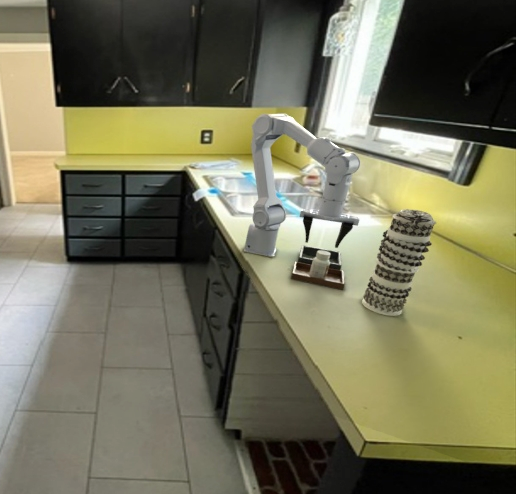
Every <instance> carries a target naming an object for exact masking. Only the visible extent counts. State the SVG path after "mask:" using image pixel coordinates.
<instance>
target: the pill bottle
mask: <svg viewBox="0 0 516 494" xmlns="http://www.w3.org/2000/svg"><path fill="white" fill-rule="evenodd" d="M330 255H331V254H330V253H329V252H327V251H324V250H319V251H317V253H316V257H313V258H312V259H313V261H312V265H311V269H310V273H309V275H310V276H312V277H317V278H322V279H325V278H326V276H327V272H328V269H329V265H330V262H331V260H330V259H329V258H330Z"/></svg>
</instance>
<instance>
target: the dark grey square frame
mask: <svg viewBox="0 0 516 494" xmlns="http://www.w3.org/2000/svg"><path fill="white" fill-rule="evenodd" d="M319 250H324V251H327V252H329V253H330V254H331V255H330V258H329V259H328V260H329V261H330V265H329V268H331V269H336V270H341V269H342V252H341V251H338V250H332V249H327V248H321V247H315V246H309V245H305V244H302V245H301V247H300V251H299V256H298V260H297V262H301V263H306V264H311V265H312V261H313V259H314V258H315V257H316V253H317V251H319ZM303 255H304V256H309V257H304V256H303ZM310 257H313V258H310ZM331 261H335V262H331Z"/></svg>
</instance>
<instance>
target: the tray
mask: <svg viewBox="0 0 516 494" xmlns="http://www.w3.org/2000/svg"><path fill="white" fill-rule="evenodd" d="M310 269H311V264H306V263H301V262H298V261H294V265H293V268H292V273H291V277H290V279H291V280H293V281H300V282H304V283H309V284H313V285H317V286H323V287H327V288H332V289H335V290H340V291H344V288H345V285H346V282H345V271H344V270H341V269H340V270H336V269H331V268H329V269H328V272H327V276H326V278H325V279H322V278H317V277H312V276H310V275H309V273H310Z"/></svg>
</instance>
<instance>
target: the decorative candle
mask: <svg viewBox="0 0 516 494" xmlns="http://www.w3.org/2000/svg"><path fill="white" fill-rule="evenodd" d="M391 217H392V220H391V222H390V226H389V227H388V229H386V230H385V231H383V233H382V237H383V239H381V240H380V245H379V248H378V251H379V252H378V253H377V255H376V259H375V262H376V265H375V270H373V272H372V274H371V276H370V277H369V282H368V284H367V288H366V289H365V291H364V294H363V296H362V297H363V299H362V300H361V303H362V305H363V306H364V307H365V308H366V309H368V310H370V311H372V312H374V313H376V314H380V315H383V316H387V317H388V316H391V317H396V316H400V315H402V313H403V309H405V304H407V301H408V300H407V298H408V297H409V295H410V293H409V292H411V291H412V284H413V281H414V280H413V278H414V277H415V274H416V273H418V272H419V271H420V267H421V266H423V263H422V261H424V260H425V259H426V257H425V256H424V253H428V252H430V250H429V248H428V247H430V246H432V244H433V243H432V242H431V241H430V239H431V237H432V235H431V234H432V232H433V229H434V226H435V225H436V224H437V221H436V220H434V218H433V216H432V214H430V213H429V212H427V211H422V210H418V209H408V208H407V209H401V210H399V211H398V212H397V213H394V214H392V215H391Z"/></svg>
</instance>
